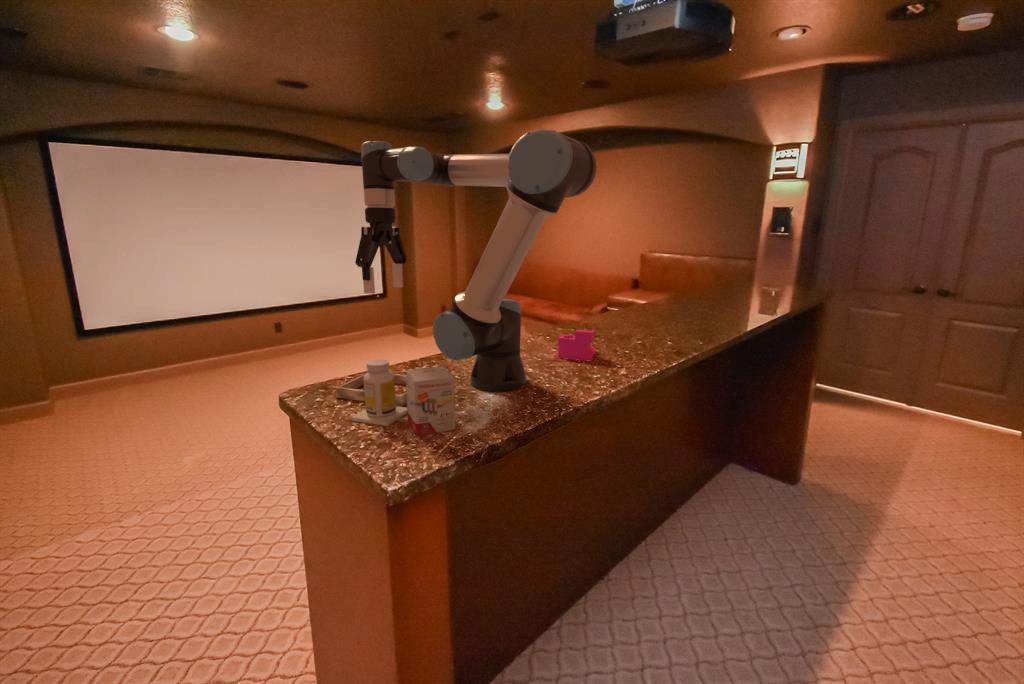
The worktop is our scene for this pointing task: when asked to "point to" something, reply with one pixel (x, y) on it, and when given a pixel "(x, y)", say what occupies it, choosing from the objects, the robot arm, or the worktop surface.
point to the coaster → (380, 420)
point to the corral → (351, 392)
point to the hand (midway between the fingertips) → (384, 290)
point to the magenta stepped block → (576, 345)
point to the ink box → (430, 400)
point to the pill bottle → (379, 389)
